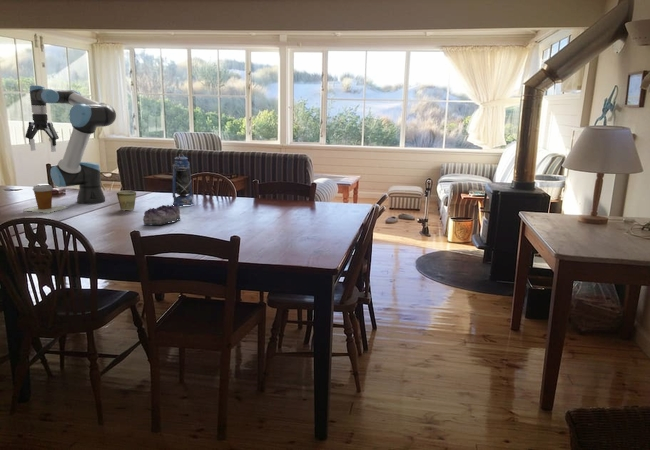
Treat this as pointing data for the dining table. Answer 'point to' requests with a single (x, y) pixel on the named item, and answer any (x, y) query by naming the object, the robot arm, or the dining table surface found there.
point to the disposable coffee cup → (43, 196)
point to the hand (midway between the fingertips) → (43, 151)
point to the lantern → (182, 181)
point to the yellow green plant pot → (126, 199)
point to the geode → (161, 214)
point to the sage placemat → (54, 208)
